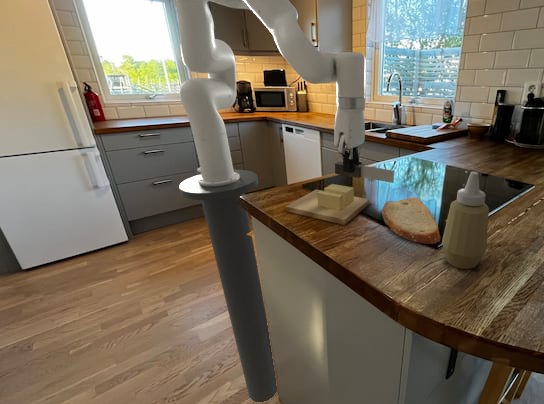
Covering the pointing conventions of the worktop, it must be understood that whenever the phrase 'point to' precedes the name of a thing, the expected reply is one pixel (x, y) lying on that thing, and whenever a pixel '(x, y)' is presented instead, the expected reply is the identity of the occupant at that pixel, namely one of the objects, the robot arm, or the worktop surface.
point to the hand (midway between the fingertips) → (351, 169)
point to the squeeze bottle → (466, 226)
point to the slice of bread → (411, 220)
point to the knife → (366, 172)
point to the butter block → (342, 192)
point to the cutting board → (327, 209)
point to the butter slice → (330, 200)
